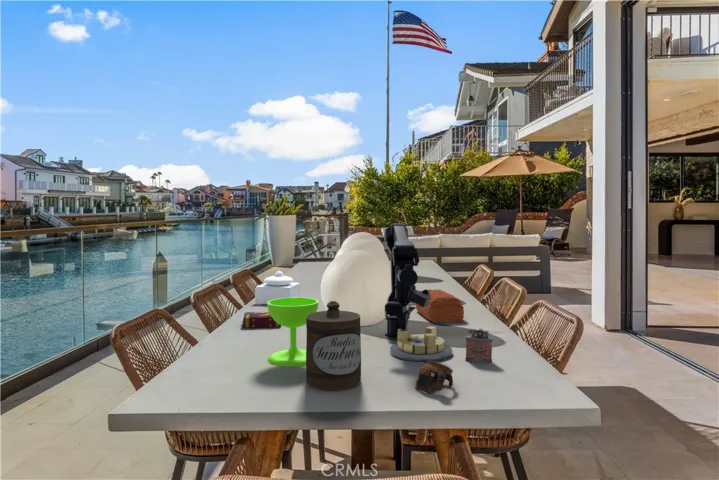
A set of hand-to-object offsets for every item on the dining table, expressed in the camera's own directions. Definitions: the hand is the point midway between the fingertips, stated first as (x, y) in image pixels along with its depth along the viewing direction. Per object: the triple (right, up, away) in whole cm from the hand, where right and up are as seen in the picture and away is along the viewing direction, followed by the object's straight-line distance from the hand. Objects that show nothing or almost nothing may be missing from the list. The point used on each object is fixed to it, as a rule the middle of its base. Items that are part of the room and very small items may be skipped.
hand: (404, 329), depth 171 cm
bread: (+20, -4, +56) cm, 60 cm away
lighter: (+22, -8, -12) cm, 26 cm away
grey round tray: (+5, -7, -2) cm, 9 cm away
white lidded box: (-56, -2, +92) cm, 108 cm away
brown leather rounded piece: (+5, -10, -36) cm, 38 cm away
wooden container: (-22, -9, -30) cm, 38 cm away
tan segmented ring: (+6, -5, -2) cm, 8 cm away
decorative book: (-55, -5, +39) cm, 67 cm away
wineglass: (-35, -8, -9) cm, 37 cm away
